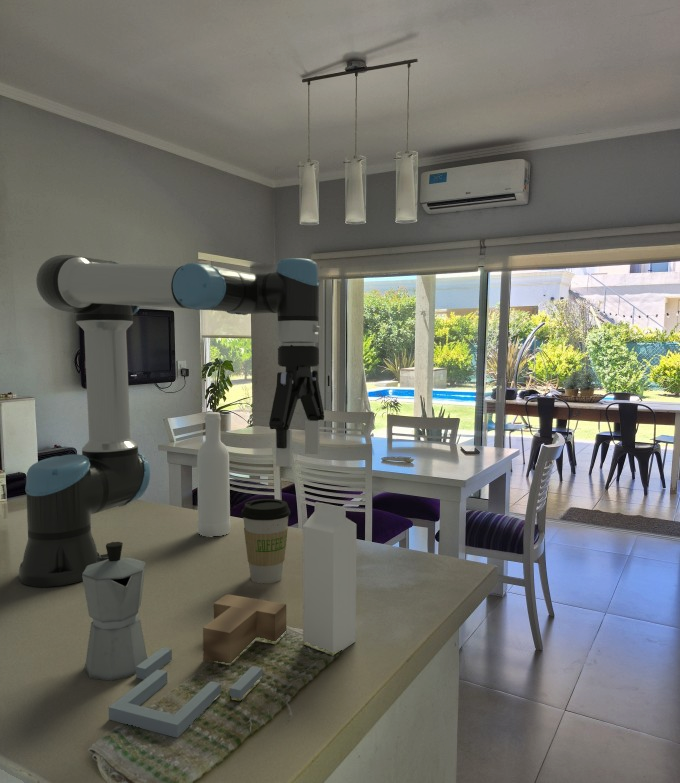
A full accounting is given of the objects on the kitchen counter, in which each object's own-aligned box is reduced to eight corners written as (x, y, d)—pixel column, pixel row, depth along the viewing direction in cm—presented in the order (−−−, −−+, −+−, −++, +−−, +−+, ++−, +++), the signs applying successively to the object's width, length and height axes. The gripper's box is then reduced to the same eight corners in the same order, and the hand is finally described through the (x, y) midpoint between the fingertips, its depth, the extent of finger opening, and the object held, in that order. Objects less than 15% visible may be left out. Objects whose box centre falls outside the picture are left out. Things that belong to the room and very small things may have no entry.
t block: (184, 656, 92) (184, 624, 91) (226, 623, 103) (226, 594, 103) (249, 670, 88) (249, 636, 88) (286, 634, 99) (286, 604, 99)
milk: (326, 631, 100) (326, 497, 99) (356, 642, 96) (357, 503, 95) (302, 645, 95) (302, 505, 94) (333, 657, 92) (333, 511, 90)
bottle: (218, 526, 159) (217, 410, 156) (236, 532, 153) (235, 412, 151) (191, 532, 153) (189, 412, 151) (209, 539, 147) (208, 415, 145)
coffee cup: (282, 589, 117) (282, 511, 116) (234, 584, 119) (233, 508, 118) (296, 570, 127) (296, 499, 126) (251, 567, 129) (250, 496, 128)
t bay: (88, 713, 77) (87, 701, 77) (162, 657, 91) (162, 647, 91) (201, 744, 71) (200, 731, 71) (262, 679, 86) (262, 667, 85)
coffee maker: (160, 675, 86) (157, 550, 85) (94, 694, 82) (90, 562, 80) (132, 634, 99) (130, 524, 98) (73, 648, 94) (70, 533, 93)
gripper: (289, 344, 100) (290, 473, 101) (339, 345, 123) (339, 450, 125) (248, 344, 102) (249, 470, 104) (305, 345, 126) (305, 448, 127)
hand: (298, 459), depth 114 cm, fingers open, 13 cm apart
